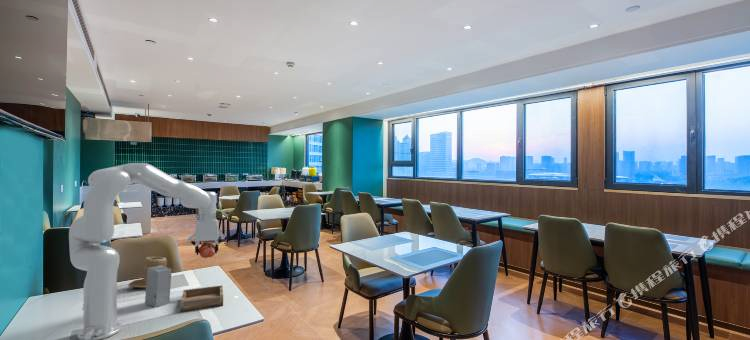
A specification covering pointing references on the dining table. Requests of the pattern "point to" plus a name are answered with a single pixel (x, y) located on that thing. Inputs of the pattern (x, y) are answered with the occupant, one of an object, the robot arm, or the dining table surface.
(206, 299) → the walnut tray
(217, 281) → the dining table surface
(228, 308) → the dining table surface
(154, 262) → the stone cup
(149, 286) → the skincare box
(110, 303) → the robot arm
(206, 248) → the pomegranate
